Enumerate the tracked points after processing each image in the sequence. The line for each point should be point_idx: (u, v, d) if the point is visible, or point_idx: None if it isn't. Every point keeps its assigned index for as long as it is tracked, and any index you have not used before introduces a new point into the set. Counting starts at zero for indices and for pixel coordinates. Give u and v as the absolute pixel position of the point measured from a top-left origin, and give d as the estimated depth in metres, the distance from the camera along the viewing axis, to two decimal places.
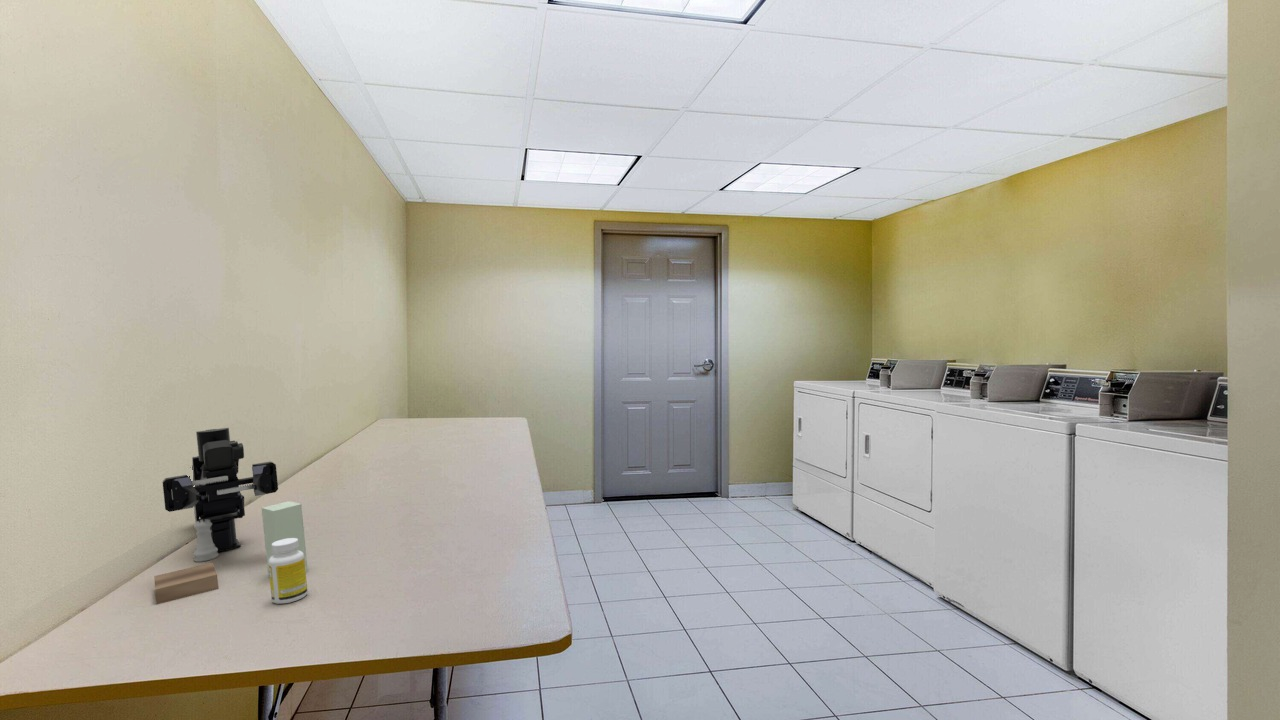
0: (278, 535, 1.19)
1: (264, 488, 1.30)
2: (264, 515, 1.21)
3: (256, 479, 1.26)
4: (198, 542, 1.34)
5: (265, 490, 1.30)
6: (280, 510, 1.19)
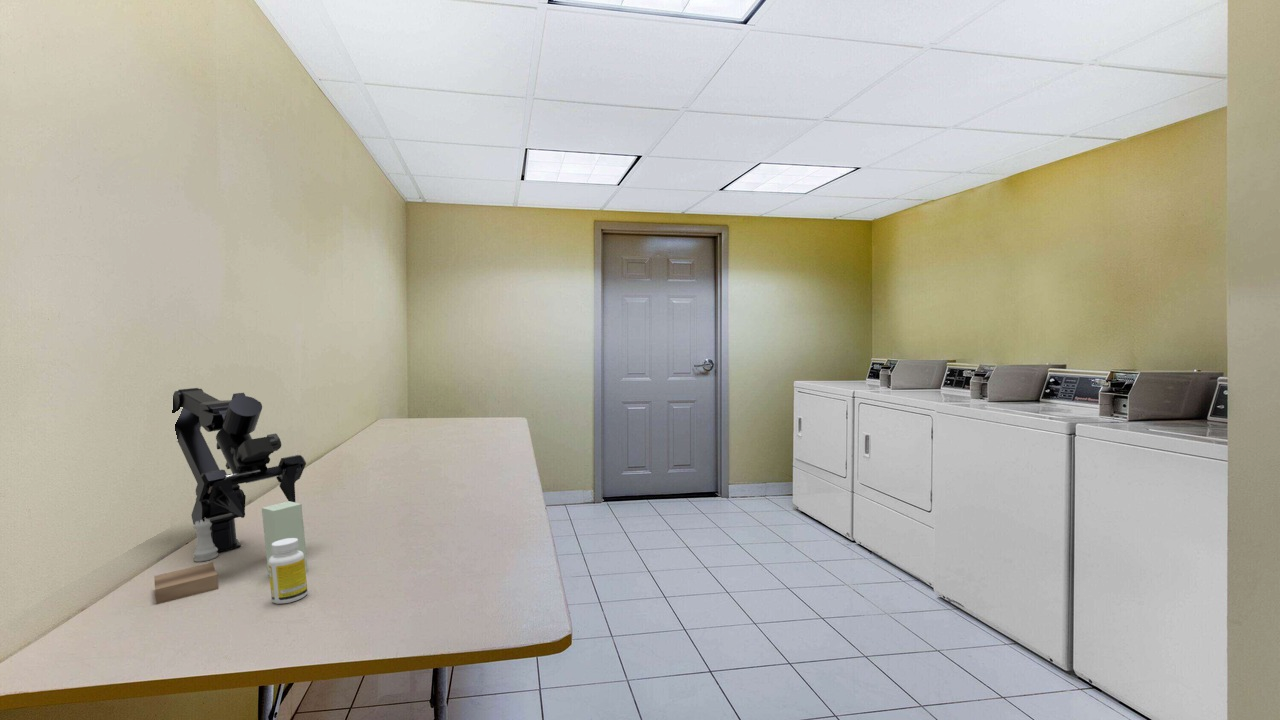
0: (278, 535, 1.19)
1: None
2: (264, 515, 1.21)
3: (293, 490, 1.30)
4: (198, 542, 1.34)
5: None
6: (280, 510, 1.19)
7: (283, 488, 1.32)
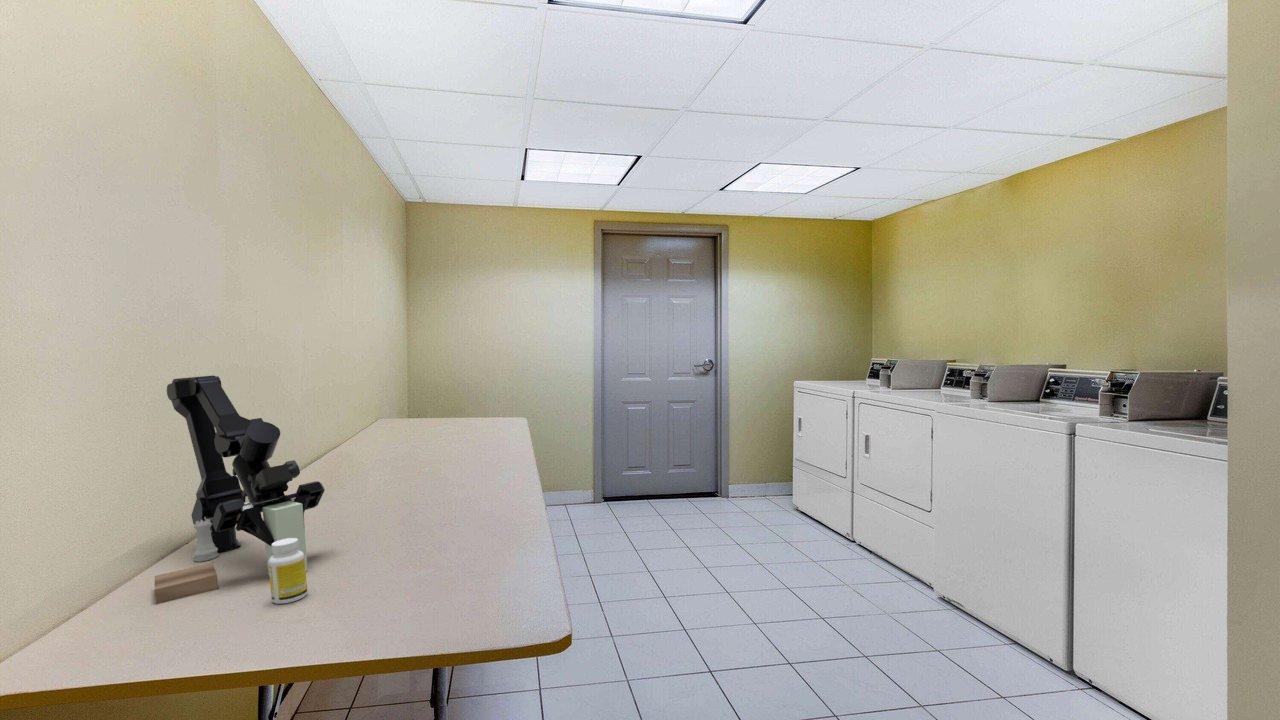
0: (279, 535, 1.19)
1: None
2: (265, 514, 1.21)
3: None
4: (198, 542, 1.34)
5: None
6: (281, 509, 1.19)
7: None
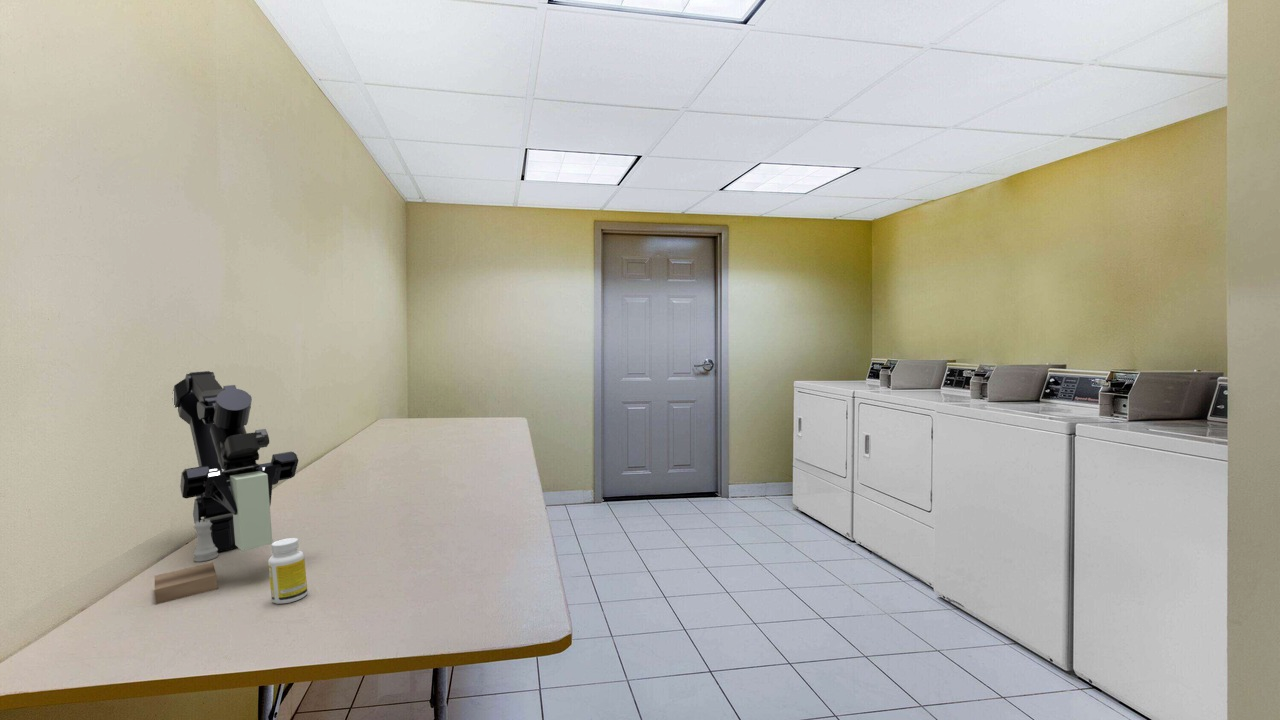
0: (241, 505, 1.16)
1: None
2: (231, 483, 1.19)
3: (269, 491, 1.22)
4: (198, 542, 1.34)
5: None
6: (243, 479, 1.17)
7: None
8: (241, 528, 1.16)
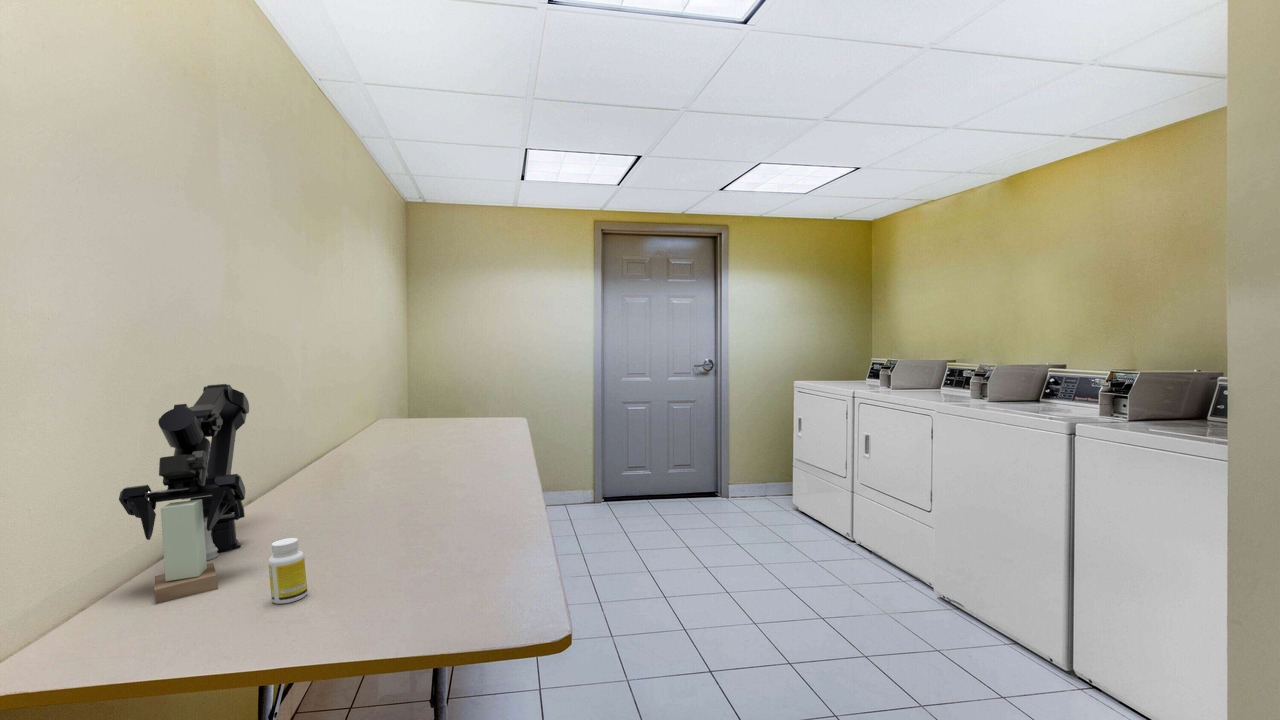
0: (165, 534, 1.15)
1: (228, 502, 1.24)
2: None
3: (212, 514, 1.19)
4: None
5: (229, 503, 1.24)
6: (168, 508, 1.15)
7: None
8: (165, 558, 1.15)
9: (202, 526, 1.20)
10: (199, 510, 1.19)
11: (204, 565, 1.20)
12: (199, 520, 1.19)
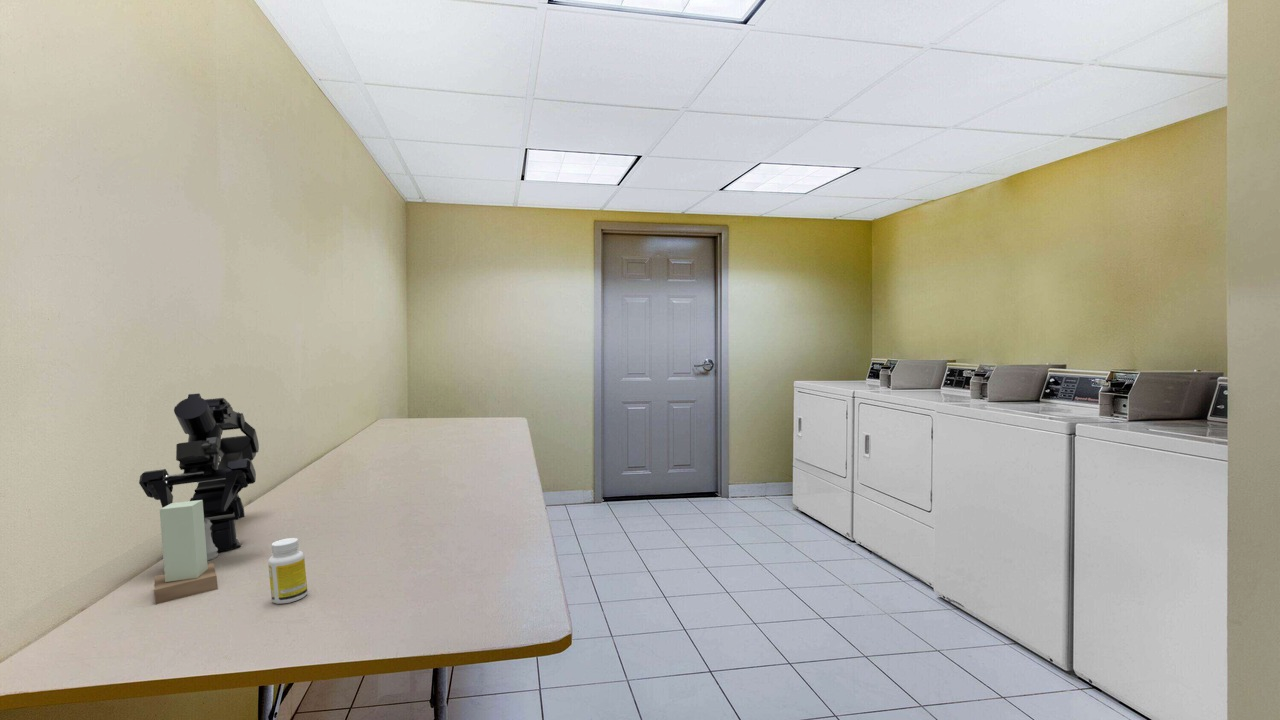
0: (164, 535, 1.14)
1: (240, 485, 1.33)
2: None
3: (226, 495, 1.28)
4: None
5: (241, 486, 1.33)
6: (167, 509, 1.15)
7: None
8: (164, 559, 1.14)
9: (202, 527, 1.20)
10: (199, 511, 1.19)
11: (204, 566, 1.19)
12: (199, 521, 1.18)
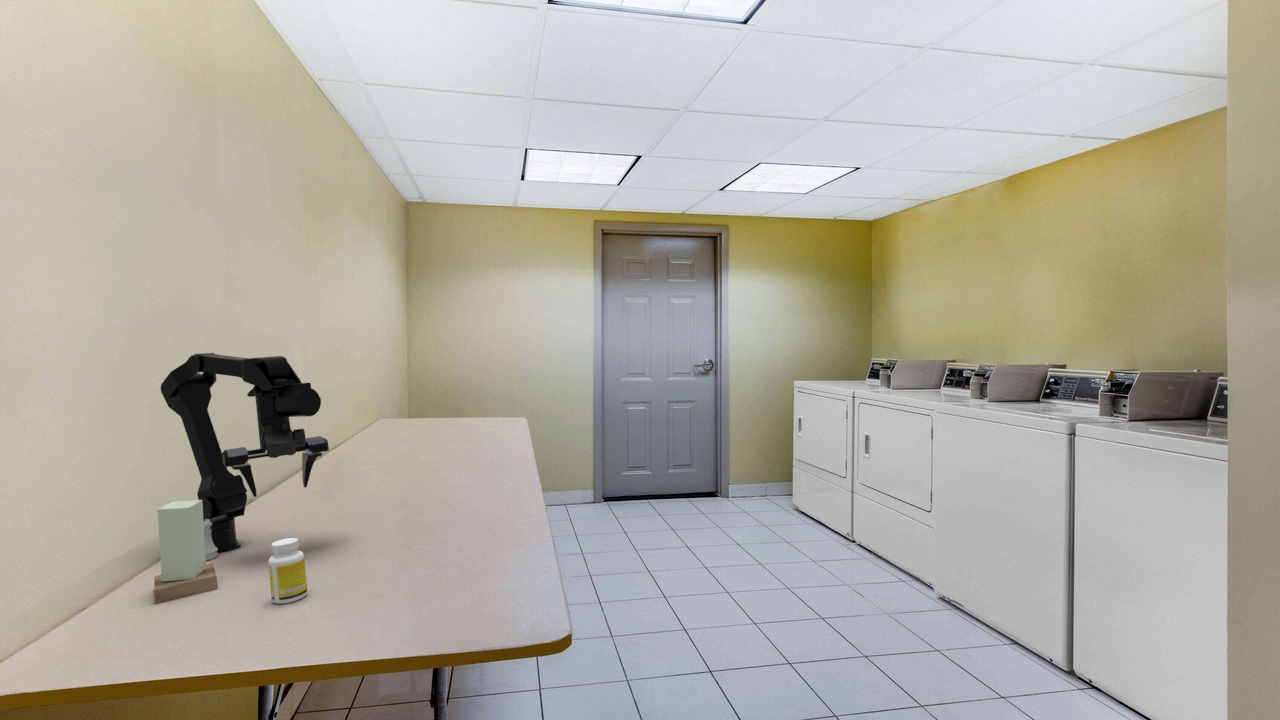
0: (162, 535, 1.14)
1: None
2: None
3: (307, 475, 1.36)
4: None
5: None
6: (165, 510, 1.14)
7: (303, 463, 1.38)
8: (161, 559, 1.14)
9: (201, 527, 1.19)
10: (198, 512, 1.18)
11: (202, 566, 1.19)
12: (197, 522, 1.18)
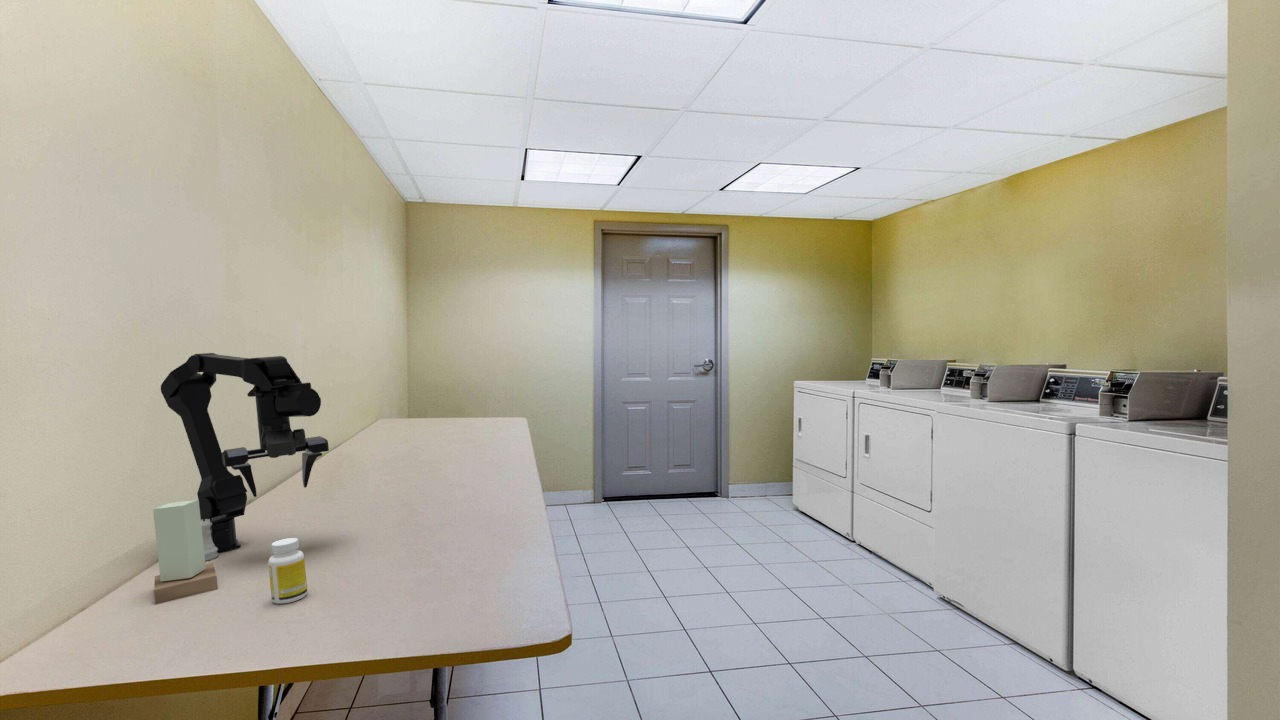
0: (158, 535, 1.15)
1: None
2: None
3: (307, 475, 1.36)
4: None
5: None
6: (160, 509, 1.15)
7: (303, 463, 1.38)
8: (159, 558, 1.15)
9: (198, 527, 1.20)
10: (194, 511, 1.19)
11: (201, 566, 1.19)
12: (193, 521, 1.18)
